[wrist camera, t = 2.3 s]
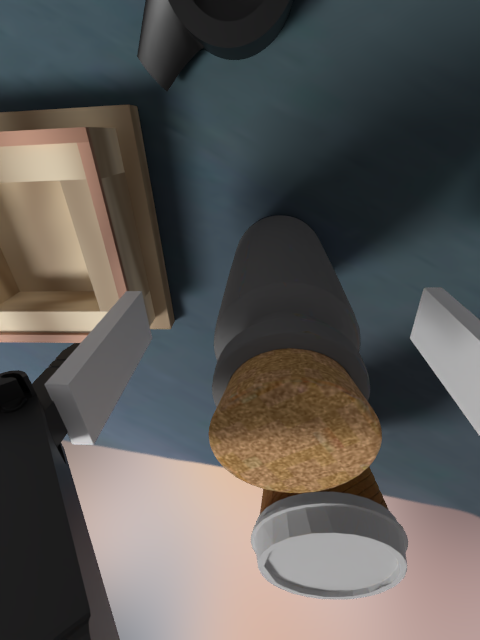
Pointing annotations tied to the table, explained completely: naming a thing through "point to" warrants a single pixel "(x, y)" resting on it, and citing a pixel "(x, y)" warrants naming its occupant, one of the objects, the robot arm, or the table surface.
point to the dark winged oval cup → (205, 31)
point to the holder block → (76, 223)
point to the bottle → (289, 367)
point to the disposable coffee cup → (330, 541)
